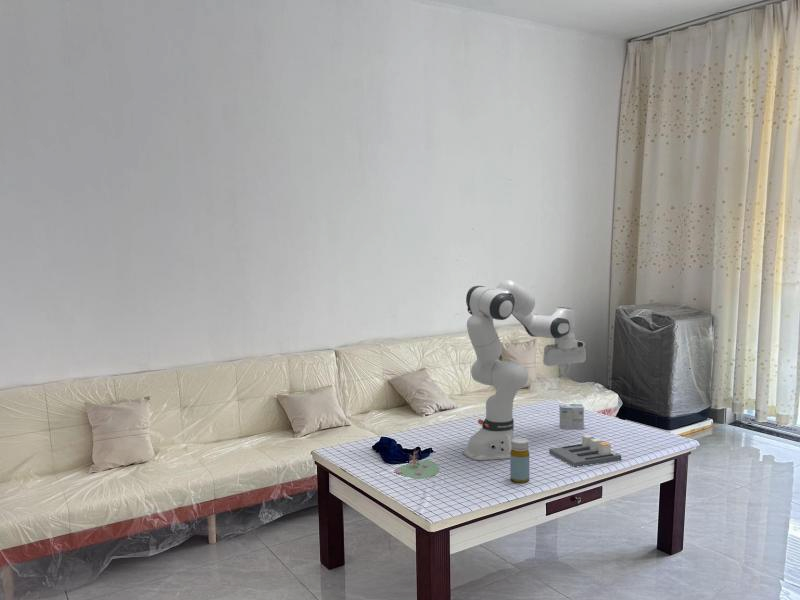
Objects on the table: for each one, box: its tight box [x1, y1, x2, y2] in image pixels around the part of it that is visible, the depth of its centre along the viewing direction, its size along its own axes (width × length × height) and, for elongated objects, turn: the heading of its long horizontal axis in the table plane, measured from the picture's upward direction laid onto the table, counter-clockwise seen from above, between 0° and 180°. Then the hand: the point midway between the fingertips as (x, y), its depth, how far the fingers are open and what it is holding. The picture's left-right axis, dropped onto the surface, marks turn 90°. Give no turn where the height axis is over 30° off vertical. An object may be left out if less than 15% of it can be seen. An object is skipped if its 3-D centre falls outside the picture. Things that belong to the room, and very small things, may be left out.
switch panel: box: [548, 434, 622, 468], centre depth 259 cm, size 22×18×6 cm
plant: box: [394, 447, 440, 480], centre depth 247 cm, size 25×21×9 cm
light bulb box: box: [559, 403, 585, 430], centre depth 300 cm, size 11×7×11 cm, turn 84°
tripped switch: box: [598, 441, 612, 455], centre depth 255 cm, size 4×3×4 cm
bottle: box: [509, 437, 530, 483], centre depth 235 cm, size 7×7×15 cm
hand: (564, 373), depth 282 cm, fingers closed
